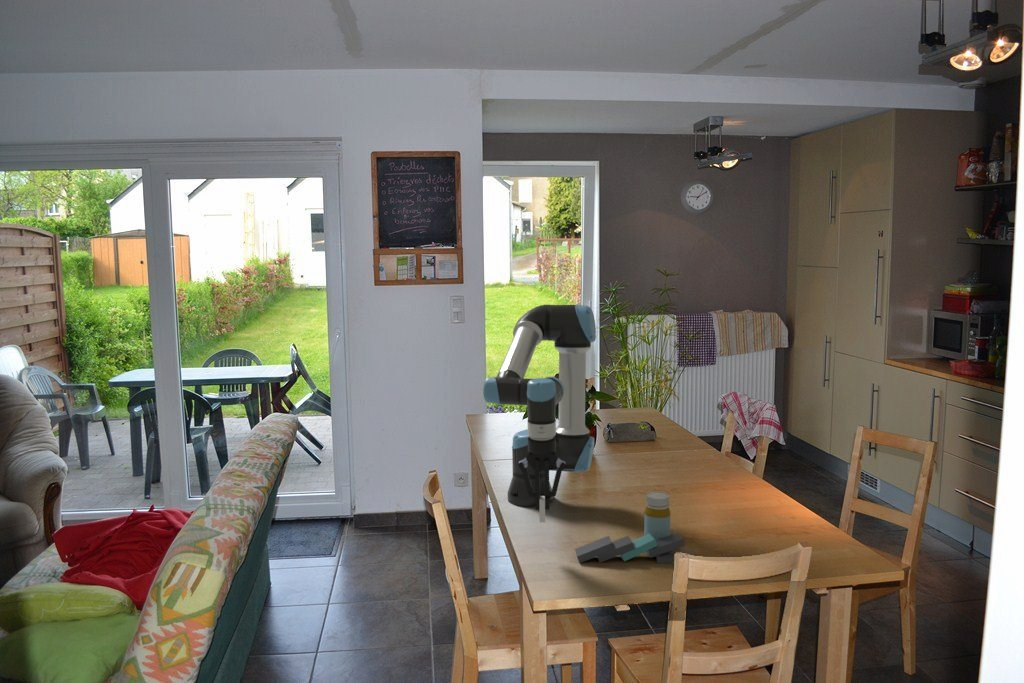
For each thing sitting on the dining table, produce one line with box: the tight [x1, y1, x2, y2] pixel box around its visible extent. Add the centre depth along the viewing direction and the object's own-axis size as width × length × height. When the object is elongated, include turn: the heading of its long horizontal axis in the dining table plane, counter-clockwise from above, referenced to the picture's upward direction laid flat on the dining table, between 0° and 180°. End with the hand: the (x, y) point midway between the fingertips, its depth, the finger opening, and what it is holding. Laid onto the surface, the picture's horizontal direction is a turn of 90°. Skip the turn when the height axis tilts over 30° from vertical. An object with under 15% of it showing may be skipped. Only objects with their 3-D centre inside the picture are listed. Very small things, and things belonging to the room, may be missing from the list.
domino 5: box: [655, 550, 695, 564], centre depth 206 cm, size 2×5×10 cm
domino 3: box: [619, 534, 658, 563], centre depth 207 cm, size 2×5×10 cm
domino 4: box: [645, 532, 686, 559], centre depth 207 cm, size 2×5×10 cm
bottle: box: [643, 491, 671, 540], centre depth 213 cm, size 7×7×15 cm
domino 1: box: [574, 535, 615, 564], centre depth 206 cm, size 2×5×10 cm
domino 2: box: [596, 535, 635, 563], centre depth 206 cm, size 2×5×10 cm
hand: (542, 520), depth 208 cm, fingers closed
